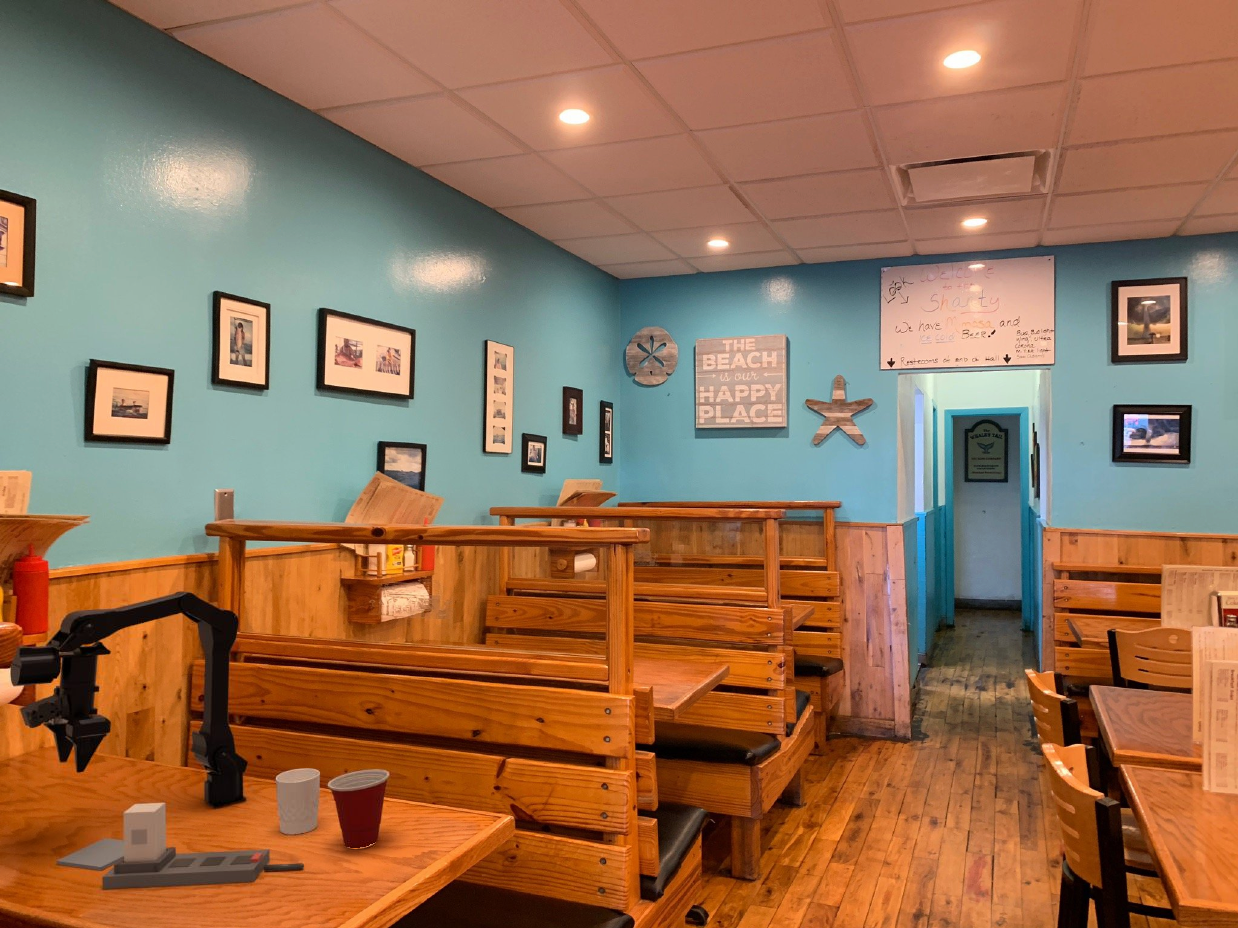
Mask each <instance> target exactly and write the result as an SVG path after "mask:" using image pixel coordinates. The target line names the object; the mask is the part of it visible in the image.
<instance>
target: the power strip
mask: <svg viewBox="0 0 1238 928" xmlns="http://www.w3.org/2000/svg"><path fill="white" fill-rule="evenodd" d="M176 849H177V848H176V846H171V847H168V846H166V852H165V853H164V854H163V855H162V856H161V857H160V858H159V859H158V860H157V861H142V862H124V857H122V858H121V859H120V860H119V861H118V862H117V863H115V864H114V865H113V867H112V868H111V869H110V870H108V871H107V872H106V874H104V875H103V876H102V878H101V879H102V890H114V889H116V890H117V889H135V888H156V887H174V886H175V887H177V886H195V885H196V886H197V885H198V886H200V885H217V884H218V885H219V884H220V885H221V884H233V883H234V884H237V883H236V882H242V883H254V882H255V881H256V879H257V878H258V877H259V876H260V874H261V873H262V872H263V871H264V872H275V871H276V872H278V871H281V870H282V871H299V870H300V871H301V870H303V869H304V868H305V864H304V863H303V862H297V863H293V862H292V863H279V864H278V863H276V864H269V863H270V861H271V860H270V857H271V855H270V849H252V850H250V849H249V850H231V851H230V850H228V851H208V852H205V851H204V852H184V853H177V850H176ZM261 871H262V872H261ZM260 872H261V873H260ZM259 873H260V874H259ZM257 876H258V877H257ZM254 880H255V881H254Z"/></svg>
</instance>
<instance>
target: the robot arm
mask: <svg viewBox="0 0 1238 928" xmlns="http://www.w3.org/2000/svg"><path fill="white" fill-rule="evenodd" d="M179 614H182V615H183V616H185V617H186V618H187V619H188V620H190V621H192V622H193V623H195V624H196V625H197V630H198V637H199V640H200V643H201V646H202V648H203V651H204V679H203V680H204V681H203V682H204V683H203V719H202V724H201V725H200V728H199V730H198V731H192V732H191V740H192V745H191V746H192V747H191V748H190V752H192V753H193V754H194V759H195V760H196V761H197V762H199V763H200V764H202V766H203V768H204V770H205V771H208V772H206V780H204V782H203V786H204V787H203V788H204V789H203V795H204V798H203V799H204V800H203V801H204V802H205V803H206V804H207V805H208V806H210V807H211V808H213V809H218V808H223V807H226V806H230V805H234V804H238V803H241V802H245V801H247V797H246V796H245V795H244V773H246V769H247V767H248V764H249V762H248V760H246V759H245V758H243V757H242V756H241V755H239V754H238V753H237V750H236V745H235V744H236V743H235V738H234V734H233V732H232V729H231V727H230V726H231V725H230V723H229V696H230V695H229V690H230V688H229V687H230V659H231V658H230V654H231V651H232V649H233V646H234V644H235V642H236V639H237V638H238V637H237V636H238V632H239V624H240V621H239V616H238V615H237V614H236V613H235V612H234V611H232V610H230V609H225V608H219V607H217V606H215V605H213V604H212V603H210V602H208V601H205V600H203V599H202V598H200V597H198V596H196V594H195V593H192V592H190V591H189V592H188V591H184V590H181V591H180V590H179V591H178V590H177V591H176V592H175V593H172V594H168V595H163V596H159V597H156V598H151V599H148V600H143V601H140V602H136V603H132V604H131V603H130V604H128V605H122V606H118V607H116V608H114V607H113V608H102V609H101V608H99V609H83V610H76V611H72V612H69V613H68V614H66V615H65V616H64V618H63V619H62V620H61V623H60V628H59V629H58V630H57V632H56V633H54V635H53V636H52V637H51V639H50V640H49V641H48V642H47V643H46V644H45V645H44V646H43V645H42V646H25V645H24V646H17V647H16V651H15V652H16V653H15V654H14V656H13V659H12V663H11V664H10V673H9V674H10V681H11V685H12V686H13V687H23V686H33V685H44V684H45V685H46V684H51V683H53V682H54V680H56V679H58V677H59V676H60V678H59V685H55V687H54V689H53V694H52V695H50V696H47V697H44V698H41V699H38V700H37V701H34V702H32V703H29V704H27V705H25V706H22V707H21V708H20V709H19V711H20V713H21V716H22V719H23V723H24V725H25V726H28V727H29V728H30V729H36V728H38V727H40V726H41V725H43V726H44V727H45V728H47V729H48V730H49V731H50V732H52V734H53V738H54V742H55V747H56V752H57V756H58V762H59V763H61V764H62V763H66V762H68V761H69V760H68V759H69V758H70V756H71V753H72V751H73V750H74V762H75V771H76V773H77V774H78V773H83V772H85V770H86V768H87V766H88V765H89V763H90V762H91V759H92V758H93V756H94V755H95V753H96V751H97V749H98V747H99V746H100V745H101V743H102V741H103V740H104V738H106V737H107V735H108V734H110V733H111V730H112V729H111V727H112V726H111V725H112V721H111V720H110V719H109V718H107V717H106V716H104V715H102V714H99V713H98V708H97V707H95V697H96V693H99V692H100V686H99V685H97V683H96V682H97V669H98V661H99V660H98V659H99V658H98V657H99V656H106V655H110V654H111V653H112V651H111V650H110V649H108V648H107V647H106V646H105V645H104V643H103V642H102V640H104V639H106V638H109V637H110V636H112V635H114V634H115V633H117V632H119V631H121V630H124V629H126V628H129V627H133V626H137V625H142V624H144V623H149V622H152V621H157V620H160V619H163V618H168V617H171V616H176V615H179Z"/></svg>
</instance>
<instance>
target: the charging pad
mask: <svg viewBox="0 0 1238 928" xmlns="http://www.w3.org/2000/svg"><path fill="white" fill-rule="evenodd" d="M122 857H124V839H123V840H122V839H114V838H109V837H105V838H102V839H100V840H98V841H96V842H94V843H92V844H90V845H88V846H86V847H83V848H81V849H79V850H77V851H75V852H72V853H70V854H68V855H66V856H63V857H62V858H59V859H58V860H56V861H55V863H56V865H58V866H59V865H60V866H66V867H73V868H74V867H75V868H80V869H87V870H94V871H103V870H106V869H107V868H109V867H112V866H114V864H115V863H117V862H118V861H119V860H120V859H121V858H122Z"/></svg>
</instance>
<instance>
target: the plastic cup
mask: <svg viewBox="0 0 1238 928" xmlns="http://www.w3.org/2000/svg"><path fill="white" fill-rule="evenodd" d="M388 779H390V772H389V771H387V770H384V769H378V768H376V769H364V770H358V771H353V772H348V773H345V774H341V775H339V776H337V777H334V778H333V779H331V780H330V781H329V782H328V783H327V787H328V789H329V790H330V791H331V794H332V795H333V800H334V803H335V808H336V813H337V817H338V822H339V823H338V824H339V829H341V836H342V841H343V843H344V847H345V846H346V847H345V848H347V847H350V848H360V847H366V846H369V845H370V844H373V843H375V842H376V841H377V842H378V839H379V834H380V825H381V823H382V815H383V808H384V807H383V806H384V800H385V794H386V787H387V782H388Z"/></svg>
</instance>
